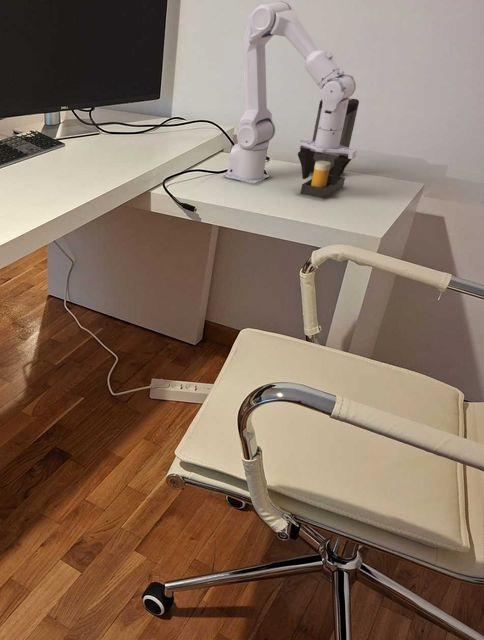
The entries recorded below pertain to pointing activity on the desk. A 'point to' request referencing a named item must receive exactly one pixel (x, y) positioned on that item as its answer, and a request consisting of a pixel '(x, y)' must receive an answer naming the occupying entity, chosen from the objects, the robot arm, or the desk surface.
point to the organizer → (322, 192)
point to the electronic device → (345, 134)
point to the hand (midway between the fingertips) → (319, 181)
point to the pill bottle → (320, 174)
